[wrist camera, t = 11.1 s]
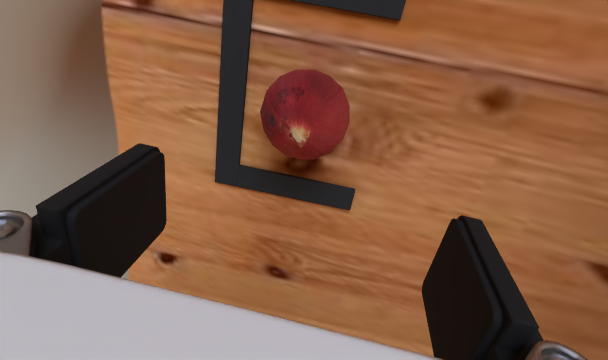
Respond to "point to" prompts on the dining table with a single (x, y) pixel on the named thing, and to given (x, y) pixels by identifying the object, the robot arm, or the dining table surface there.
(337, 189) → the bay
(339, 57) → the dining table surface
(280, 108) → the onion
